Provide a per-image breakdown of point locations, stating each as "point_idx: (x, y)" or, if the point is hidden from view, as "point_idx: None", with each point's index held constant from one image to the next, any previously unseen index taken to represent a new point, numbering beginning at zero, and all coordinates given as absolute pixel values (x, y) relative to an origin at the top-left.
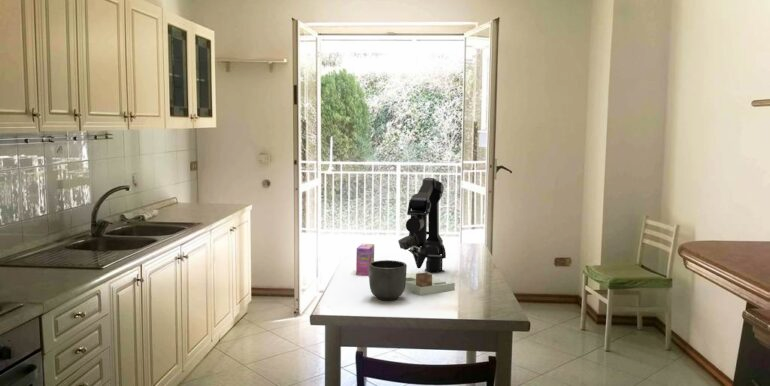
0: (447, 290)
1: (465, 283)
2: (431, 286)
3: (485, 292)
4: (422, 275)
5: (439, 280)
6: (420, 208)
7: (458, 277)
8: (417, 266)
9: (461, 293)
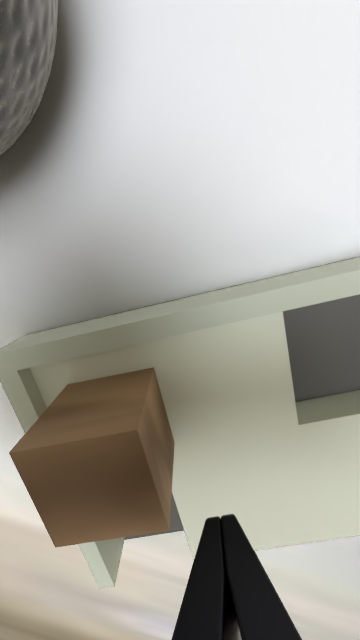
0: None
1: None
2: None
3: (47, 625)
4: (41, 464)
5: None
6: None
7: (349, 629)
8: (220, 537)
9: (42, 543)
